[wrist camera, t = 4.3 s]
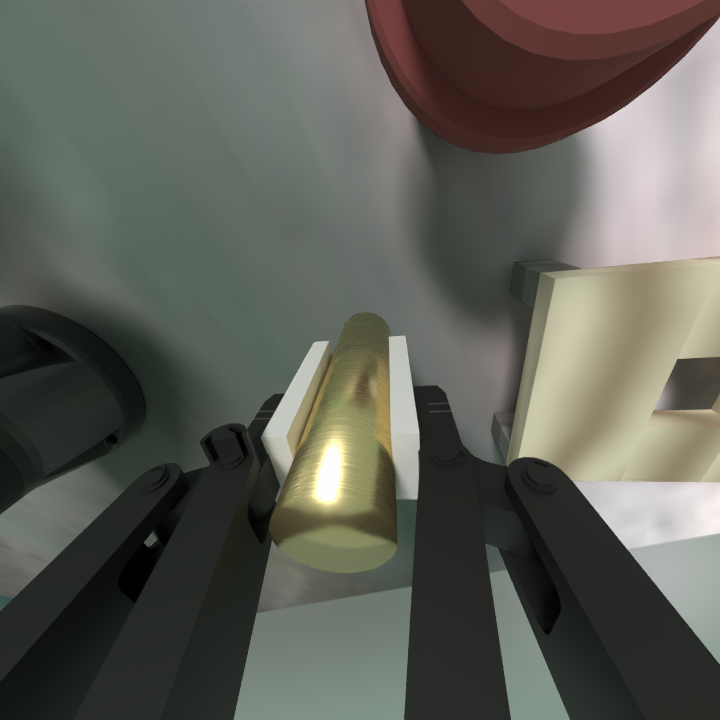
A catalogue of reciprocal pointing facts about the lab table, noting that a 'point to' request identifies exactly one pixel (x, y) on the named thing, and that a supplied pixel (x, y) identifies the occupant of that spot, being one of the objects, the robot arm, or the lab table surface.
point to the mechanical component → (528, 62)
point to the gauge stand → (614, 370)
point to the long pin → (344, 462)
